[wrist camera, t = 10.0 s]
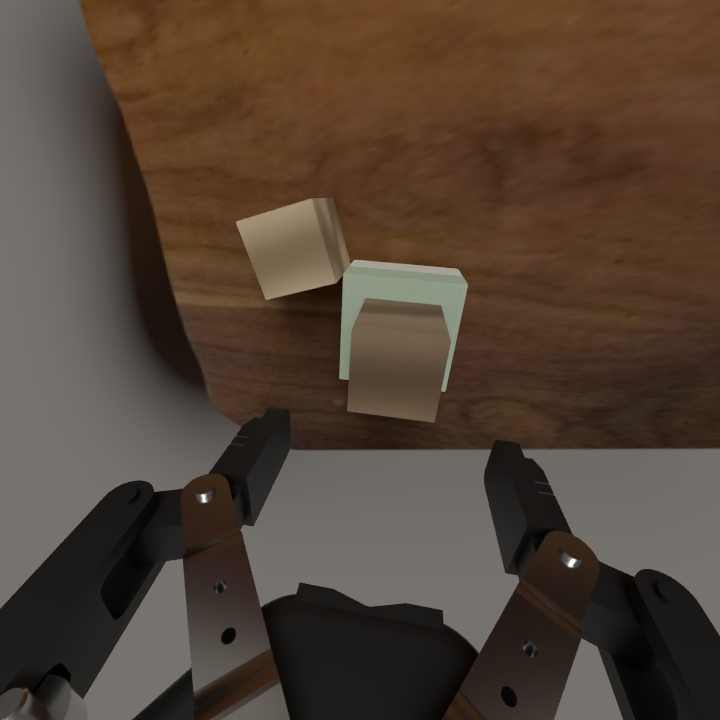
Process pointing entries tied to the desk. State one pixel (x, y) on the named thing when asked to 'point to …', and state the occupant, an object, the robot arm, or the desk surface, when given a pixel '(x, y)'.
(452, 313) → the brick base
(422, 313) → the walnut brick
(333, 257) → the brick
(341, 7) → the desk surface
